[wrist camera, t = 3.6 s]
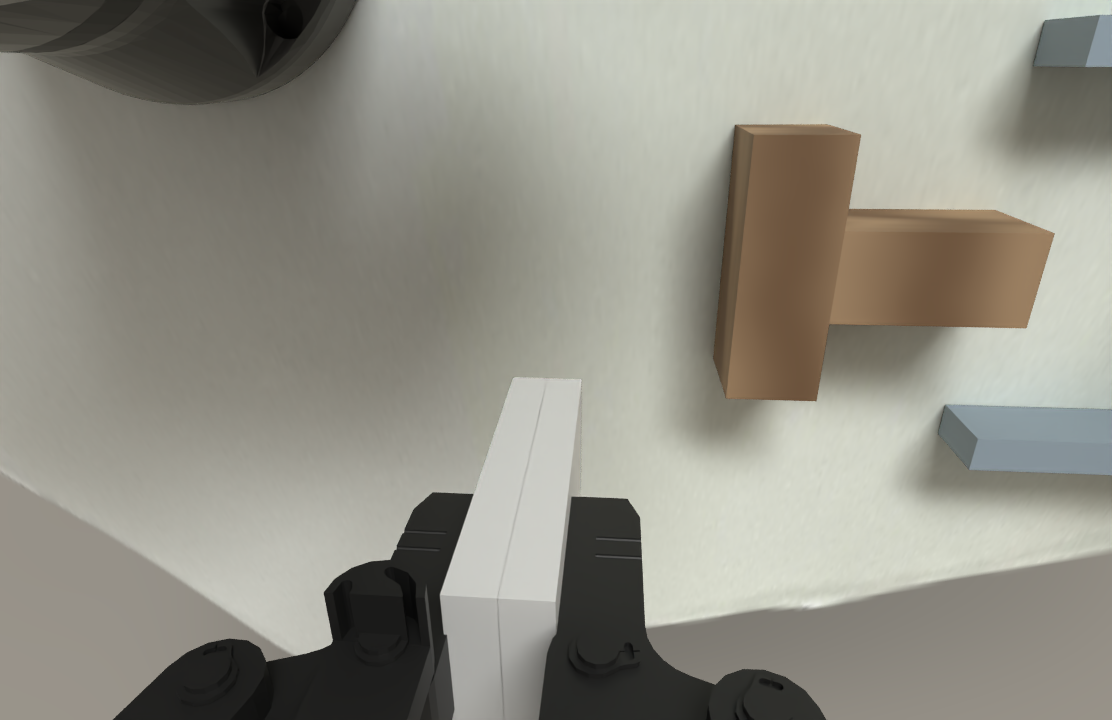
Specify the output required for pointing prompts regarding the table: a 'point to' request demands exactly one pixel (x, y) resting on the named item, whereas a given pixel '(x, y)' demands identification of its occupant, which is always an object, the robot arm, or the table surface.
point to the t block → (848, 262)
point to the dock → (1032, 431)
